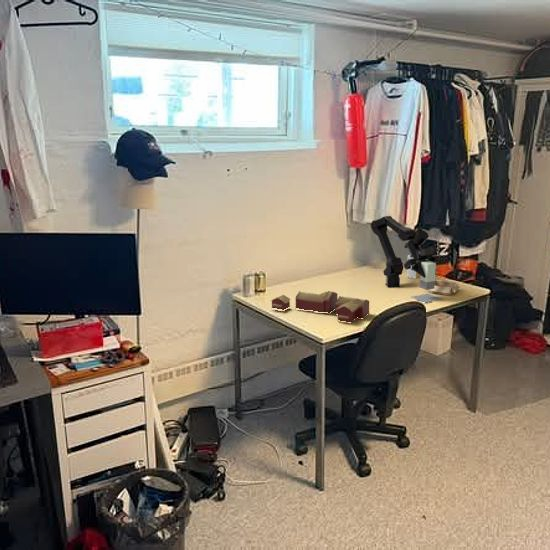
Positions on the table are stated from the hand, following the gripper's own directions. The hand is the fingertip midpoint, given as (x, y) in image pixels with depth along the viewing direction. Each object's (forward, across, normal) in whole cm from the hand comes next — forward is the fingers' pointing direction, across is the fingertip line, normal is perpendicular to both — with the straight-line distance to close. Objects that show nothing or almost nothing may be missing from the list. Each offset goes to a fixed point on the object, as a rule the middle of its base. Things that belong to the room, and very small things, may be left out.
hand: (429, 276), depth 267 cm
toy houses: (+1, -57, +17) cm, 59 cm away
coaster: (+8, 0, +9) cm, 12 cm away
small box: (-18, +22, +35) cm, 45 cm away
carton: (+4, +15, +13) cm, 20 cm away
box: (+4, 0, +5) cm, 6 cm away
